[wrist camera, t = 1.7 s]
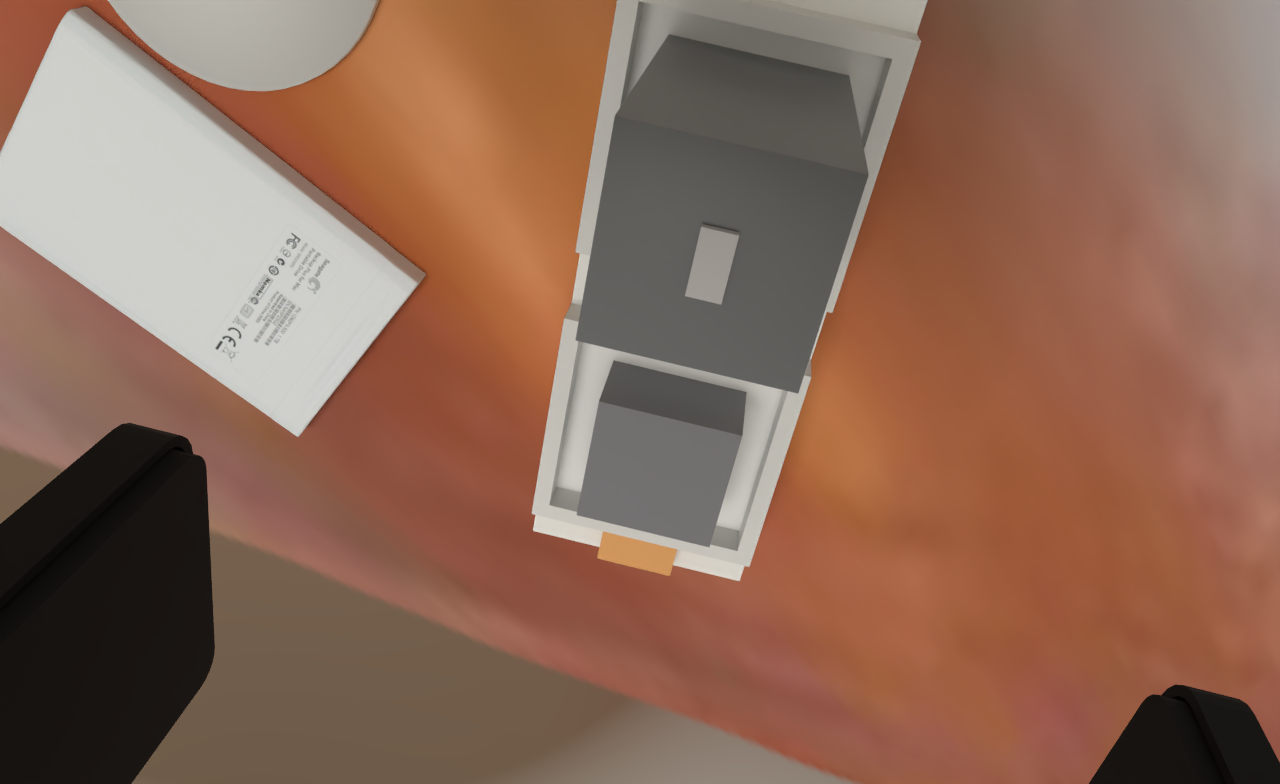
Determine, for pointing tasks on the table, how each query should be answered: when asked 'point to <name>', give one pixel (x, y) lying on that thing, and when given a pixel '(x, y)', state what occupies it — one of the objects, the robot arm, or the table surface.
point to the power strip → (681, 396)
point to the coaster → (250, 37)
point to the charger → (724, 213)
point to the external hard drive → (193, 225)
